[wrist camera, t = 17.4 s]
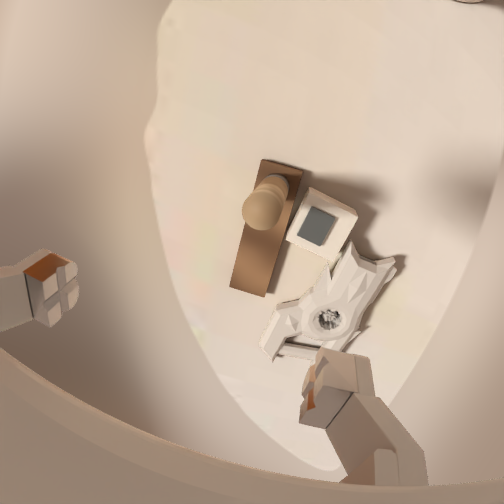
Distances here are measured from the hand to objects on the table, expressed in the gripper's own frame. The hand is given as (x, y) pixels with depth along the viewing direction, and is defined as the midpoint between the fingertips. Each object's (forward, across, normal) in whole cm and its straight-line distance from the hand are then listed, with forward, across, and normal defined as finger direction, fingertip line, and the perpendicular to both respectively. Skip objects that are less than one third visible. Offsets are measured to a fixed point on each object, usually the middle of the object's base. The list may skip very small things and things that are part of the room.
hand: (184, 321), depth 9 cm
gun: (+24, -9, +12) cm, 28 cm away
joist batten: (+23, 0, +6) cm, 24 cm away
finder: (+23, -6, +3) cm, 24 cm away
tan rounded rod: (+22, 0, +1) cm, 22 cm away
